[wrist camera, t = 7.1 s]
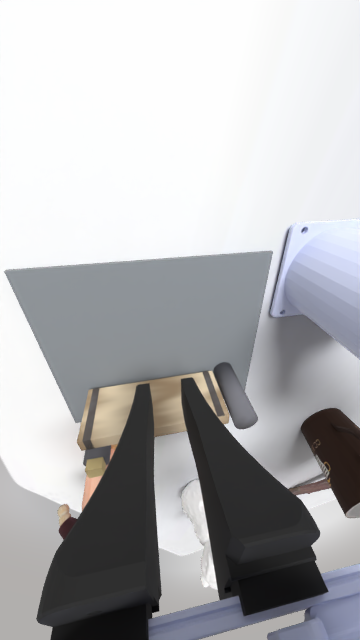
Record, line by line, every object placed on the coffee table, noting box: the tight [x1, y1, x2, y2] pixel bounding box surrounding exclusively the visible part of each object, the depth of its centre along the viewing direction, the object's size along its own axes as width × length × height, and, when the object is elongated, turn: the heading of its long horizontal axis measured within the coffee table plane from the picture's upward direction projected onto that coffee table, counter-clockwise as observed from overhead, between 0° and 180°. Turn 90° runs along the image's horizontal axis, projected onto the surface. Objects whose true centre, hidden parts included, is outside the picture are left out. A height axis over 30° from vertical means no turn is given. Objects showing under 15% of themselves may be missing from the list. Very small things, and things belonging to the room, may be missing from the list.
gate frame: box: [4, 251, 273, 478], centre depth 18 cm, size 19×17×7 cm
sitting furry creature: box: [181, 479, 218, 590], centre depth 34 cm, size 10×9×12 cm
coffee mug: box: [301, 408, 360, 518], centre depth 28 cm, size 12×9×10 cm
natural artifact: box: [289, 478, 331, 496], centre depth 44 cm, size 4×23×4 cm, turn 125°
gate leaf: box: [77, 371, 229, 451], centre depth 20 cm, size 12×1×5 cm, turn 92°
